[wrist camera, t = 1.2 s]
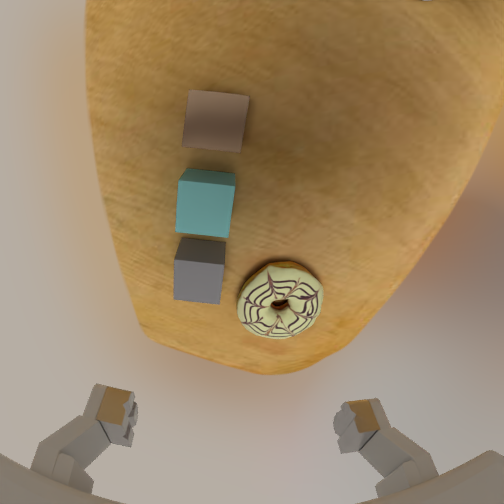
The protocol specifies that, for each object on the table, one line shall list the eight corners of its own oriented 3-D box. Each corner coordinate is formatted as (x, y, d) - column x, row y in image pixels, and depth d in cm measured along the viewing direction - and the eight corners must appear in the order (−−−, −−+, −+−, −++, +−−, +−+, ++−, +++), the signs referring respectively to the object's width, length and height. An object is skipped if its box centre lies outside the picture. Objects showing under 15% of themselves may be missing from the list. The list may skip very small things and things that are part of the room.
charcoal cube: (181, 237, 32) (174, 259, 28) (225, 242, 33) (224, 265, 29) (180, 274, 35) (173, 299, 30) (220, 278, 35) (219, 304, 31)
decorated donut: (332, 271, 36) (341, 288, 33) (294, 330, 41) (299, 349, 37) (257, 246, 34) (260, 262, 30) (226, 313, 38) (226, 333, 35)
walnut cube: (196, 92, 25) (189, 89, 20) (247, 97, 25) (249, 96, 21) (190, 139, 27) (181, 146, 23) (239, 145, 28) (240, 153, 23)
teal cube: (187, 168, 29) (178, 180, 24) (235, 173, 29) (235, 186, 25) (183, 212, 31) (175, 231, 27) (228, 217, 32) (228, 237, 27)
